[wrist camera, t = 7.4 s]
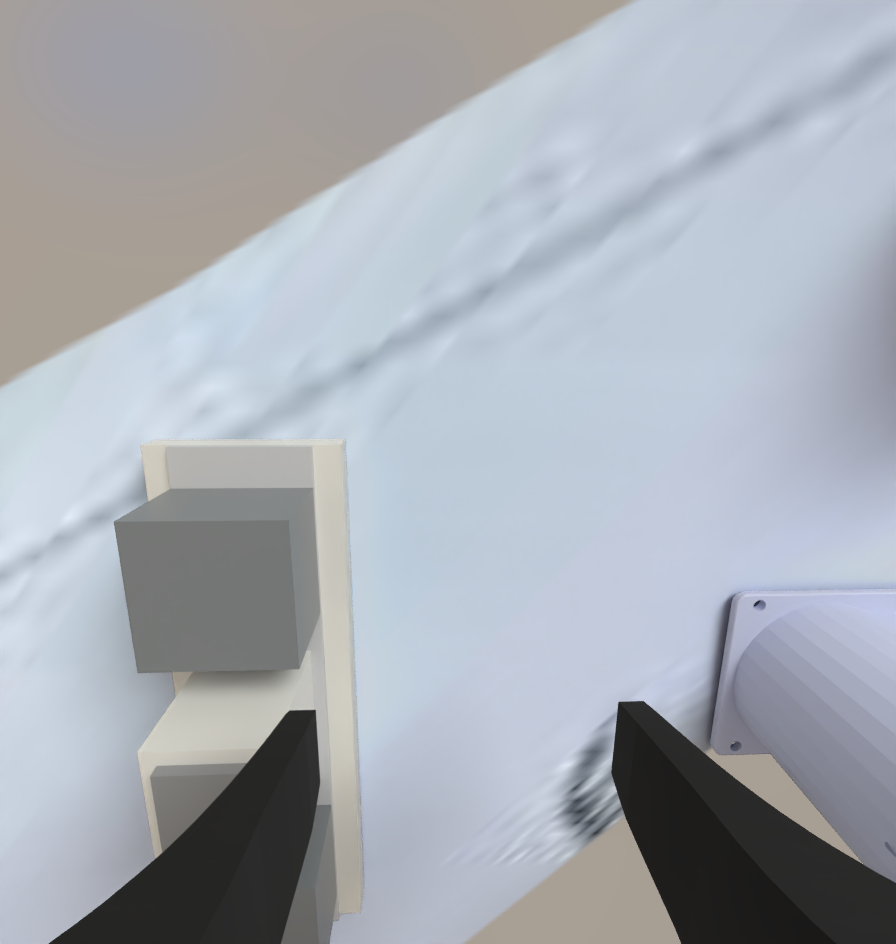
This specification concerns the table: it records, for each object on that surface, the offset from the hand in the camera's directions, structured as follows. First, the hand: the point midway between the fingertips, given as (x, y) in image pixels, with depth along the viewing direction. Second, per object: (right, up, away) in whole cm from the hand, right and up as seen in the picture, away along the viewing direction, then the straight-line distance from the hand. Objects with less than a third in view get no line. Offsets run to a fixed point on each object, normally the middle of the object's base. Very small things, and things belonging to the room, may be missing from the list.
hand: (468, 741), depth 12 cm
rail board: (-8, -3, +10) cm, 13 cm away
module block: (-8, -4, +9) cm, 12 cm away
